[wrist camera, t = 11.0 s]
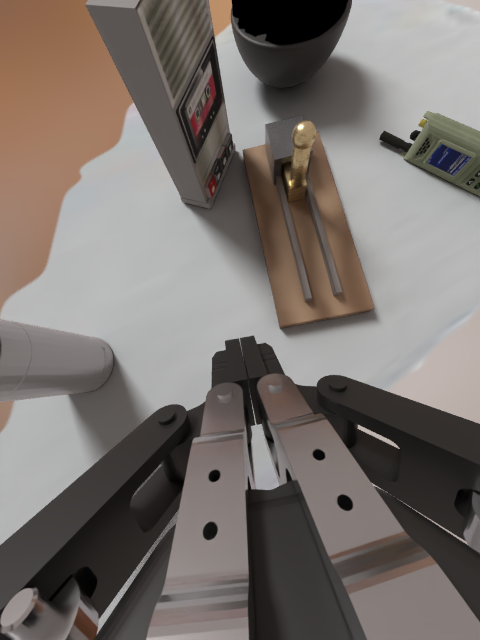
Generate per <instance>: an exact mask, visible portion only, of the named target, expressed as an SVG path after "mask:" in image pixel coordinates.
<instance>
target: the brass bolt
mask: <svg viewBox="0 0 480 640" xmlns="http://www.w3.org/2000/svg"><path fill="white" fill-rule="evenodd" d="M315 137H316V128H315V126H314V124H313V123H312V122H311V121H309V120H303V121H301V122H299V123H298V124H297V125H296V126H295V128H294V130H293V133H292V142H293V151H292V160H291V161H290V162H286V163H282V167H281V178H282V182H283V185H284V189H285V193H286V197H287V201H288V202H292V201H296V200H301V199H304V197H305V192H306V188H307V183H306V179H305V177H306V172H307V167H308V161H309V156H310V151H311V146H312V144H313V142H314V140H315Z"/></svg>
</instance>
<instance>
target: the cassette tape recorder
mask: <svg viewBox="0 0 480 640" xmlns="http://www.w3.org/2000/svg"><path fill="white" fill-rule="evenodd" d="M85 5H86V7H87V9H88V11H89V13H90V15H91V17H92V19H93V21H94V23H95V25H96V27H97V29H98V31H99V33H100V35H101V37H102V39H103V41H104V43H105V45H106V47H107V49H108V51H109V53H110V55H111V57H112V59H113V61H114V63H115V65H116V67H117V69H118V71H119V73H120V75H121V77H122V79H123V81H124V83H125V85H126V87H127V89H128V91H129V93H130V95H131V97H132V99H133V101H134V103H135V105H136V107H137V109H138V111H139V113H140V115H141V117H142V119H143V121H144V123H145V125H146V127H147V129H148V131H149V133H150V136H151V138H152V140H153V142H154V144H155V146H156V148H157V150H158V152H159V154H160V156H161V158H162V160H163V162H164V164H165V166H166V168H167V170H168V172H169V174H170V176H171V178H172V180H173V182H174V184H175V186H176V188H177V190H178V192H179V194H180V196H181V200H182V202H184V203H188V204H192V205H197V206H201V207H205V208H209V209H211V206H212V204H213V202H214V199H215V197H216V195H217V192H218V190H219V187H220V185H221V183H222V180H223V178H224V175H225V173H226V171H227V168H228V166H229V163H230V161H231V159H232V156H233V154H234V152H235V144H234V143H233V141H232V134H231V133H230V131H229V125H228V118H227V112H226V106H225V100H224V93H223V87H222V81H221V75H220V68H219V62H218V56H217V50H216V43H215V37H214V31H213V25H212V18H211V12H210V6H209V0H88V1H87V3H86V4H85Z"/></svg>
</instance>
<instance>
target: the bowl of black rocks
mask: <svg viewBox="0 0 480 640" xmlns="http://www.w3.org/2000/svg"><path fill="white" fill-rule="evenodd" d="M351 5H352V0H232V9H231V23H232V29H233V34H234V38H235V41H236V44H237V47H238V50H239V52H240V54H241V56H242V59H243V61H244V62H245V64H246V65H247V67H248V68H249V70H250V71H251V72H252V73H253V74H254V75H255V76H256V77H257V78H258V79H259V80H261V81H262V82H264V83H266V84H268V85H270V86H274V87H280V88H284V87H291V86H295V85H297V84H299V83H301V82H303V81H305V80H307V79H308V78H309V77H311V76H312V75H313V74H314V73H315V72H317V71H318V70H319V69H320V68H321V66H322V65H323V64H324V63H325V62H326V60H327V59H328V57H329V56H330V55H331V53H332V52H333V50H334V48H335V46H336V45H337V43H338V41H339V39H340V37H341V34H342V32H343V30H344V27H345V25H346V22H347V19H348V16H349V13H350V9H351Z"/></svg>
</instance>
